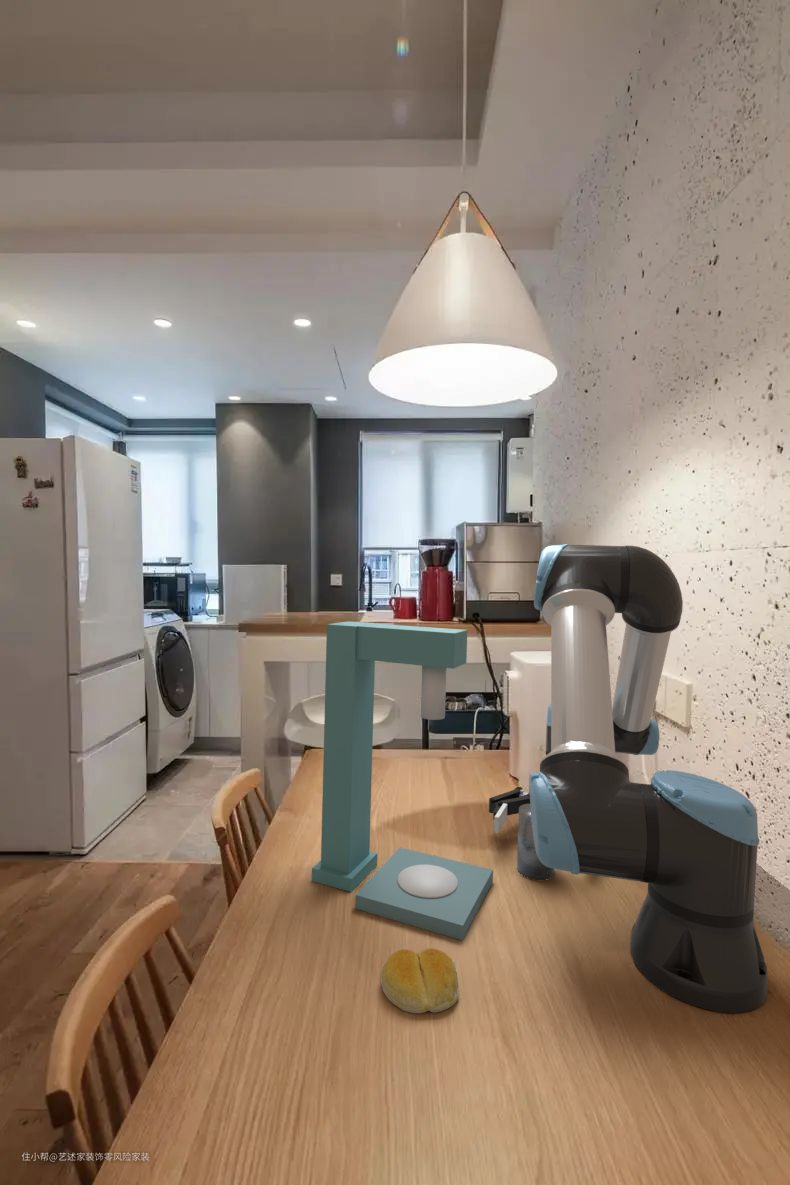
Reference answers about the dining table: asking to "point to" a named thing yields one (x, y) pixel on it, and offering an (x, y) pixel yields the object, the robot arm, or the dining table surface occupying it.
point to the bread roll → (420, 981)
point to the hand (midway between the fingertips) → (536, 833)
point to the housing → (529, 849)
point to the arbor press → (409, 878)
